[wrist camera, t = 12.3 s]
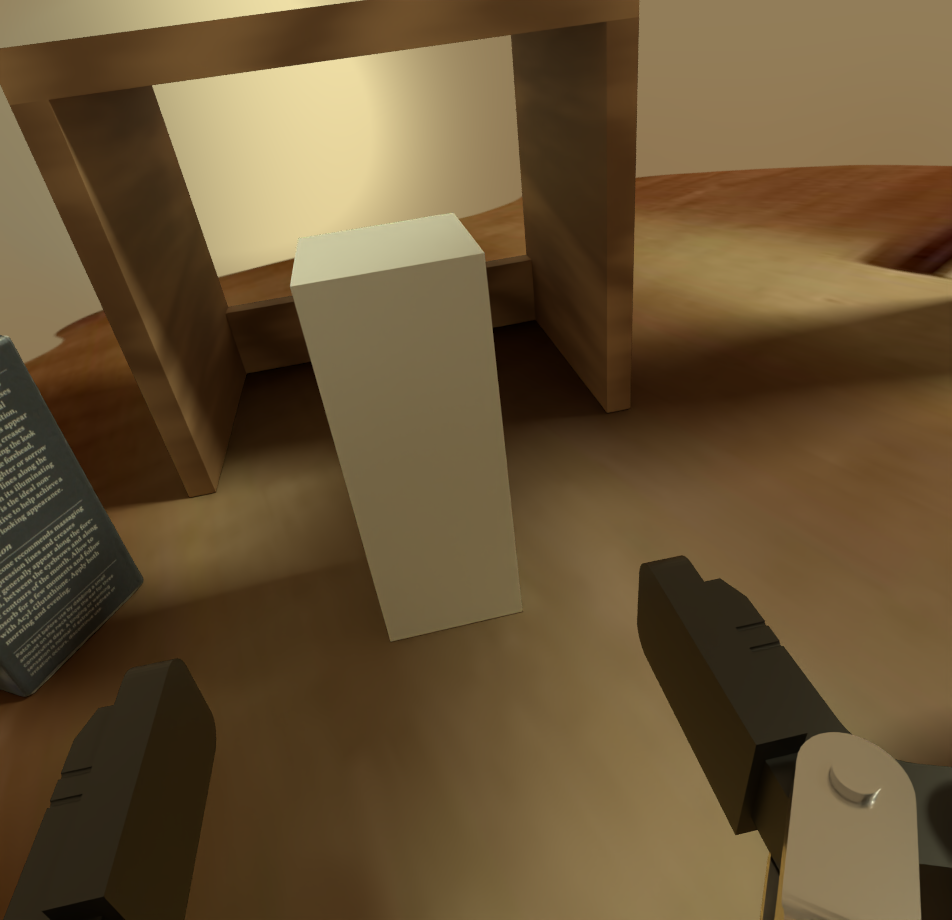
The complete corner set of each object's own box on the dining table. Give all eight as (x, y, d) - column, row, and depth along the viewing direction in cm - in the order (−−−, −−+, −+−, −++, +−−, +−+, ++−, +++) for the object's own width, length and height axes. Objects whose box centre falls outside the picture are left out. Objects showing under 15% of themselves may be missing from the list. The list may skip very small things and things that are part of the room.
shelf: (547, 310, 43) (530, -6, 34) (630, 408, 32) (640, -37, 22) (229, 369, 41) (113, 51, 32) (189, 497, 29) (-16, 50, 20)
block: (494, 528, 25) (453, 212, 19) (522, 611, 21) (484, 252, 15) (381, 553, 25) (298, 238, 18) (390, 641, 21) (290, 286, 14)
